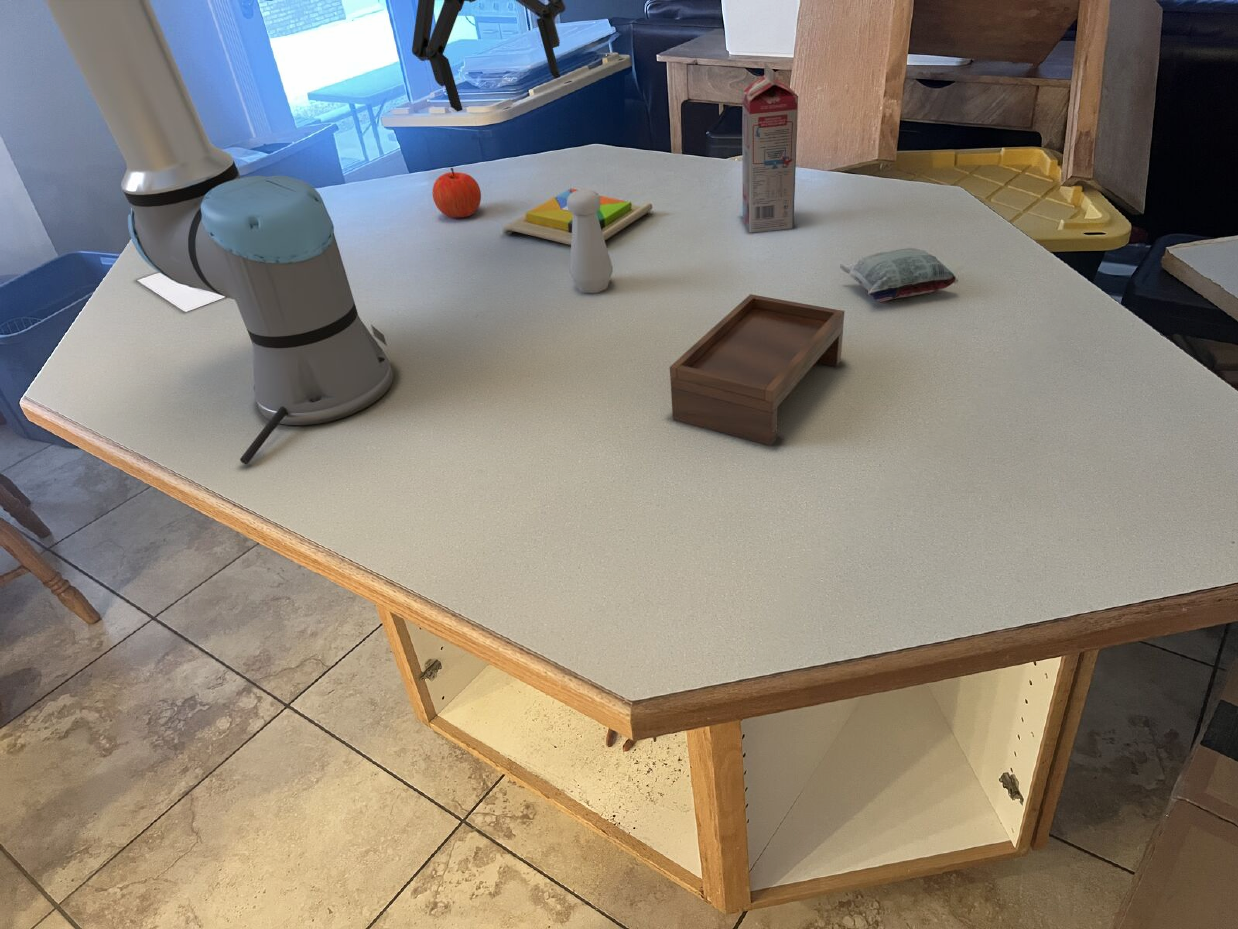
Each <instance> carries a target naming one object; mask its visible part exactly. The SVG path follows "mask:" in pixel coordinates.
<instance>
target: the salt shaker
mask: <svg viewBox="0 0 1238 929" xmlns="http://www.w3.org/2000/svg"><path fill="white" fill-rule="evenodd" d="M577 190H578V191H574V192H572V193H571V194H570V195H569V196H568V198H567V207H568V210H569V212H570V213H572V214H573V222H572V241H571V245H570V264H569V274H570V277H571V278H572V280H573V282H574V284H575V285H576V287H577V289H578V290H580V291H581V292H582V293H583V294H596V293H597V294H599V293H600V292H602V291H605V290H607V289H608V287H609V284H610V280H611V278H612V275H613V273H614V268H613V267H614V266H613V264H612V260H611V257H610V254H609V250H608V248H607V247H608V246H607V244H606V240H604V237H603V234H602V230H601V227H600V223H599V220H598V216H597V212H596V211H598V210H599V209H600V206H601V202H600V197H599V196H600V194H599V193H598V192H597V191H596V190H593V189H586V188H585V189H577Z"/></svg>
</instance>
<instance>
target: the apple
mask: <svg viewBox="0 0 1238 929" xmlns="http://www.w3.org/2000/svg"><path fill="white" fill-rule="evenodd" d="M450 170H451V172H450V171H449V172H446V173H444V174H442V175H440V176H439V177H437V178H436V180H435V181H434V183H433V186H432V200H433V202H434V204H435V206H436V208H437V209H438V210H439V212H441V213H442V214H443V215H445V216H446V217H448V218H449V217H450V218H452V219H456V218H467V217H469V216H472V215H474V213H476V212H477V210H478V209H479V207H480V205H481V200H482V190H481V188H480V185H479V184H478V181H476V179H475V178H473V177H472V176H471V175H469V174H467V173H464V172H459V171H454V168H453V167H451V168H450Z"/></svg>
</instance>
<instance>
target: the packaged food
mask: <svg viewBox="0 0 1238 929" xmlns="http://www.w3.org/2000/svg"><path fill="white" fill-rule="evenodd" d="M839 267H840V269H841V271H842V272H844V273H846V274H848V275H849V276H850V278H852V279H853V280H854V281H856V282H857V283H858V284H859V285H860V286H862V287H863V288H864V289H865V290H867V292H868V293H867V294H866V296H868V295H869V297H870V298H873V299H874V300H875V301H877V302H886V301H890V300H895V299H899V298H908V297H914V296H918V295H925V294H929V293H933V292H937V291H940V290H942V289H946V288H948V287H950V286H952V285H953V284H957V283H958V282H959V281H958V279H956V278H957V276H955V274H954V273H953V272H952V271H951V270H950V269H949V268H948V267H947V266H945V264H943V262H941V261H940V260H939V259H938V258H937V257H936V256H934V255H933V254H931V253H929V252H927V251H926V250H923V249H918V248H915V247H914V248H912V247H908V248H901V249H894V250H890V251H889V250H888V251H883V252H878V253H873V254H870V255H867V256H864V257H862V258H861V259H856V260H854V262H851V263H849V264H846V265H844V264H841V263H839Z"/></svg>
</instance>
